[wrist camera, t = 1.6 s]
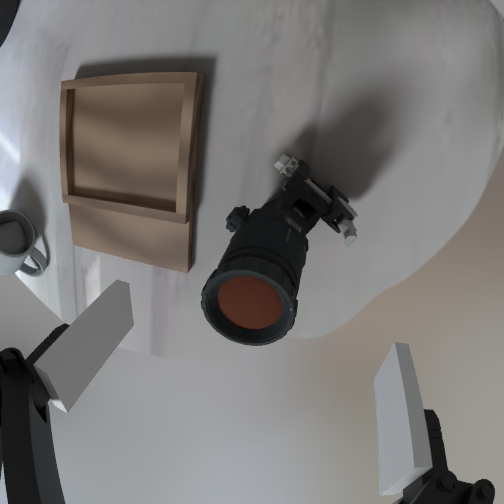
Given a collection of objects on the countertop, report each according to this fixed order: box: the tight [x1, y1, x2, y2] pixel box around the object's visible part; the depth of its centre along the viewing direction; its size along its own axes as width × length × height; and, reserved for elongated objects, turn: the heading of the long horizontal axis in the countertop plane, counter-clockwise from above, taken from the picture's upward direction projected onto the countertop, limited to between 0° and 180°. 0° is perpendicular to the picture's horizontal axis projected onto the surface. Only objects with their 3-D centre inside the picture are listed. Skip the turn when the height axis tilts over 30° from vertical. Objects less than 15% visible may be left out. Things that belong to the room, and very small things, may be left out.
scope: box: [201, 153, 358, 346], centre depth 23 cm, size 8×14×10 cm
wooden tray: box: [60, 72, 205, 273], centre depth 29 cm, size 20×16×2 cm
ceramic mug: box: [0, 210, 47, 277], centre depth 35 cm, size 11×8×8 cm
